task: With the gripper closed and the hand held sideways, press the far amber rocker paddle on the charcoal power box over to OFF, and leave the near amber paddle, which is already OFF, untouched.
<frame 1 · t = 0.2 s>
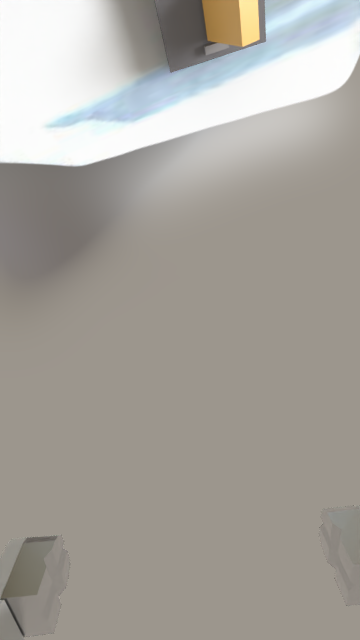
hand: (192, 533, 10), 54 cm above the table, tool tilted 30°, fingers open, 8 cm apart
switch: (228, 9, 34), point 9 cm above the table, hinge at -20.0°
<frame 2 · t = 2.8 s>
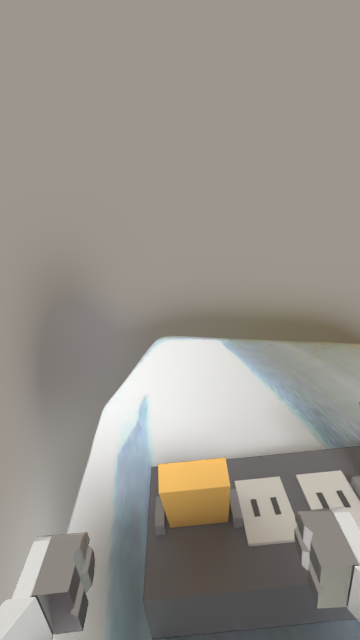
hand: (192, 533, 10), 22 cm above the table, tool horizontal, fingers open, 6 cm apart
power box: (296, 543, 30), on the table
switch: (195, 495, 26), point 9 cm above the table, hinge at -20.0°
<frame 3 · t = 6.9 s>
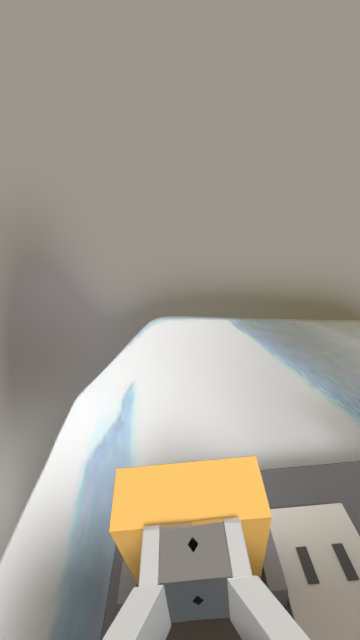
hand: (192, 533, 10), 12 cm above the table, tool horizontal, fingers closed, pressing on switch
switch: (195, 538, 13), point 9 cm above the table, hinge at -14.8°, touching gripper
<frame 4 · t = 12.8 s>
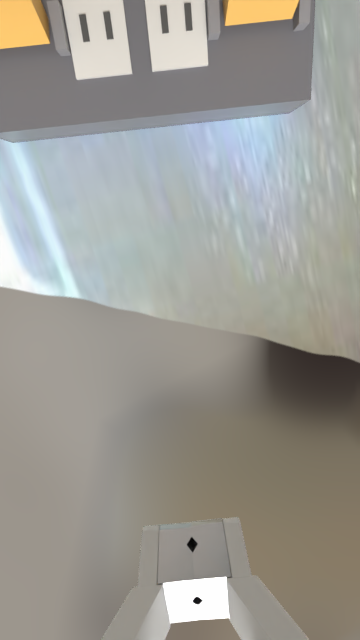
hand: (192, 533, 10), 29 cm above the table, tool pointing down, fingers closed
power box: (142, 51, 29), on the table
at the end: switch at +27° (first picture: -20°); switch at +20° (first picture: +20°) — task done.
